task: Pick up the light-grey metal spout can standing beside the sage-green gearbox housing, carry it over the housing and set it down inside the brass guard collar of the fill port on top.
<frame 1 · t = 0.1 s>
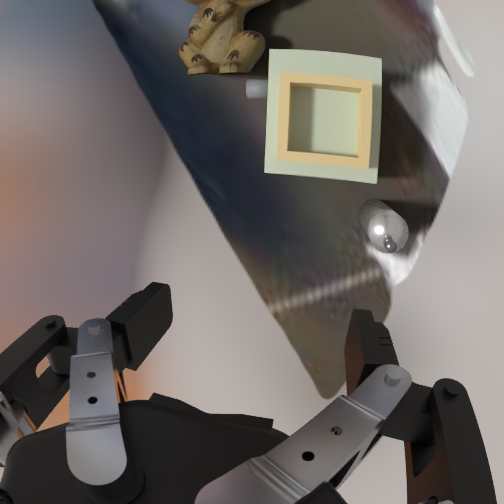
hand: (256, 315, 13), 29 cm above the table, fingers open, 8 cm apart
gearbox: (322, 119, 35), on the table
figurine: (237, 23, 33), on the table
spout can: (374, 215, 38), on the table
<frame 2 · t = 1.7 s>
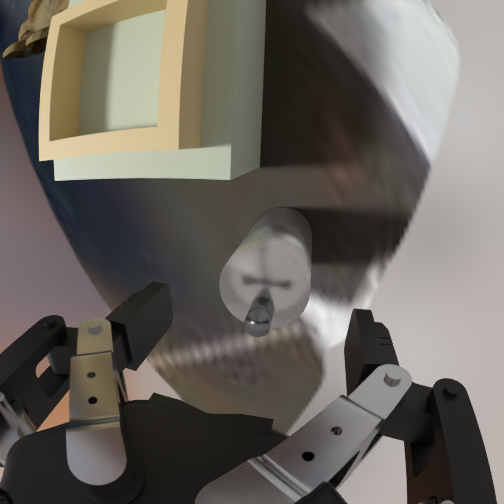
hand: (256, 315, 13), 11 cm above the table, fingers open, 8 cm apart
gearbox: (185, 78, 20), on the table
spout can: (283, 235, 23), on the table
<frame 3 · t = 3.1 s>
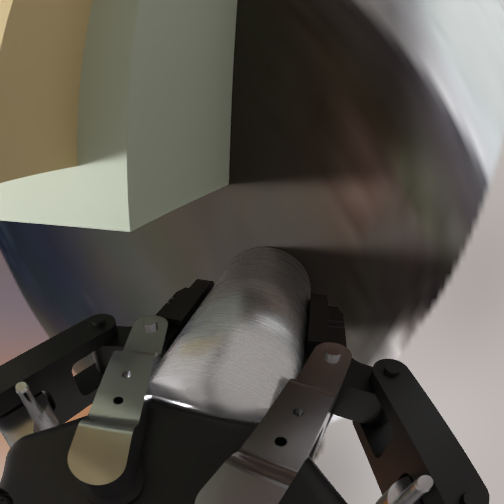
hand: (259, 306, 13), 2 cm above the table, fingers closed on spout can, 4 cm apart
gearbox: (125, 57, 12), on the table
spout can: (266, 288, 15), on the table, touching gripper
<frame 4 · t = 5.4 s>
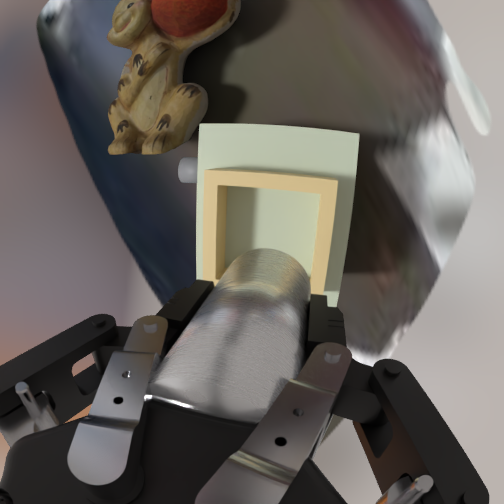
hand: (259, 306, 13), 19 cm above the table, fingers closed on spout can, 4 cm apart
gearbox: (282, 202, 30), on the table
figurine: (182, 67, 28), on the table
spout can: (266, 289, 15), point 17 cm above the table, touching gripper
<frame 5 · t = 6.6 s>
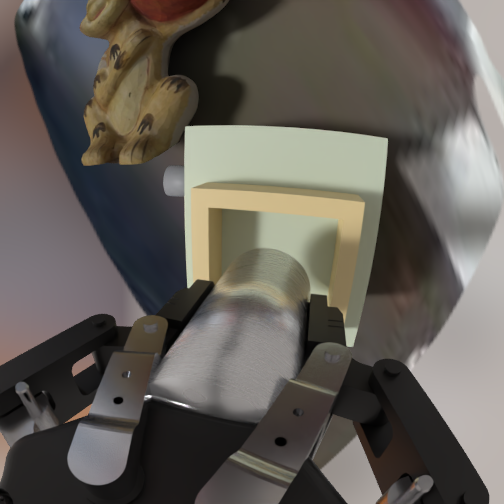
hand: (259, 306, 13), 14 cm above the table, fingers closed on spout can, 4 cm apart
gearbox: (288, 215, 26), on the table
figurine: (168, 57, 23), on the table
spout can: (266, 289, 15), point 12 cm above the table, touching gripper
when the fingers open (11 cm above the table, at t = 7.5 s): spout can drops 1 cm, resting on gearbox.
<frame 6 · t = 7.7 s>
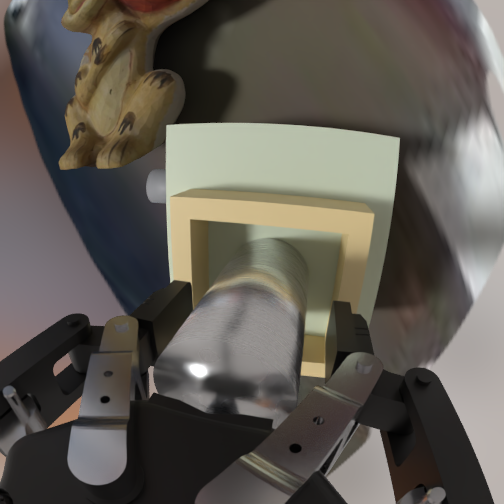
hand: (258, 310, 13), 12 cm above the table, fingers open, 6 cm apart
gearbox: (285, 223, 23), on the table
figurine: (156, 52, 21), on the table
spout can: (268, 276, 16), point 8 cm above the table, touching gearbox
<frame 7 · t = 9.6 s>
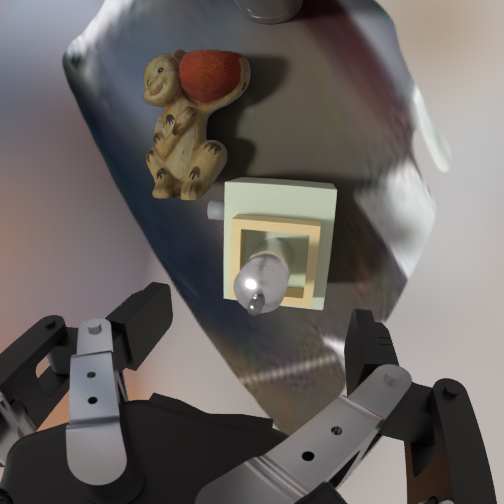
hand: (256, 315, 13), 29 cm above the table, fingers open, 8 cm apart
gearbox: (283, 231, 41), on the table
figurine: (203, 121, 38), on the table
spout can: (274, 257, 33), point 8 cm above the table, touching gearbox
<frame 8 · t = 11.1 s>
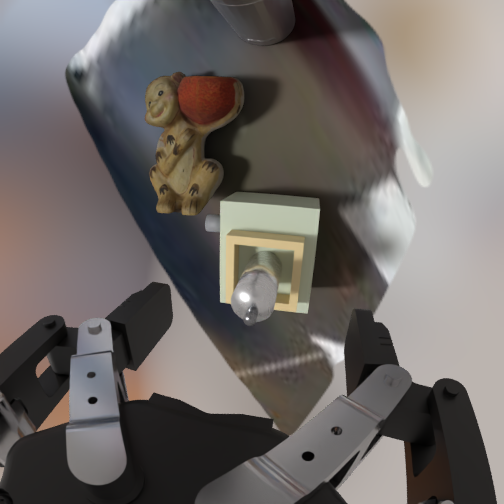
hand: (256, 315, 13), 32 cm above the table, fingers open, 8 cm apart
gearbox: (274, 240, 45), on the table
figurine: (201, 138, 42), on the table
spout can: (264, 267, 38), point 8 cm above the table, touching gearbox
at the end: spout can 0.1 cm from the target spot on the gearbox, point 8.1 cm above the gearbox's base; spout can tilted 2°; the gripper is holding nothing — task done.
